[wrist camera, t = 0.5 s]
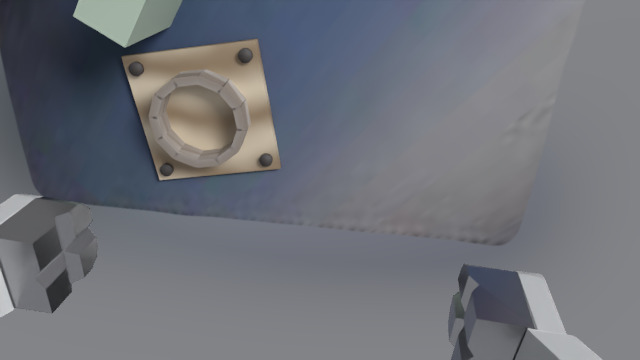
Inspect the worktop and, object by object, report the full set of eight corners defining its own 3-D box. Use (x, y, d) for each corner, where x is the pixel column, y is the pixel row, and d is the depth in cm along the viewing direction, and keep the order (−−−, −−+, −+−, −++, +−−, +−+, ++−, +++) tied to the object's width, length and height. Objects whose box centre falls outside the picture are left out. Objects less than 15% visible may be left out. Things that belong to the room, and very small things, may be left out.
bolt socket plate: (124, 55, 55) (109, 62, 52) (257, 38, 54) (251, 45, 50) (161, 177, 62) (151, 190, 59) (280, 166, 61) (276, 179, 57)
